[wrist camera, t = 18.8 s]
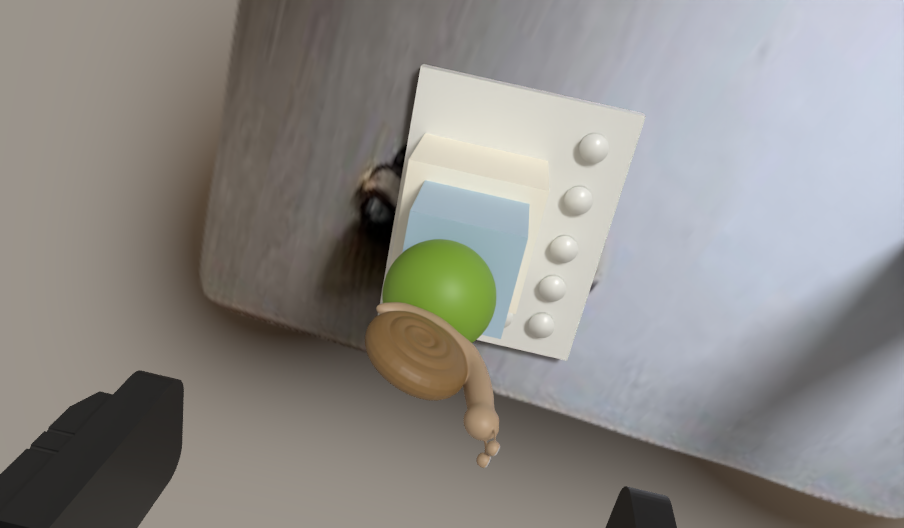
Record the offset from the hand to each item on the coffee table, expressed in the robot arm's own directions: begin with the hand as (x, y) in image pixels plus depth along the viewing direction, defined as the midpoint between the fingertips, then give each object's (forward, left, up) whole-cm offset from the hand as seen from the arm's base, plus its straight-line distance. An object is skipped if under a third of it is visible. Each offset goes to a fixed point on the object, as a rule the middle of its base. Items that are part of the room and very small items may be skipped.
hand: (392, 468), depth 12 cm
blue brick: (+7, 0, -27) cm, 28 cm away
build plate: (+8, +2, -34) cm, 35 cm away
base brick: (+7, 0, -33) cm, 34 cm away
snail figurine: (+7, 0, -22) cm, 23 cm away
